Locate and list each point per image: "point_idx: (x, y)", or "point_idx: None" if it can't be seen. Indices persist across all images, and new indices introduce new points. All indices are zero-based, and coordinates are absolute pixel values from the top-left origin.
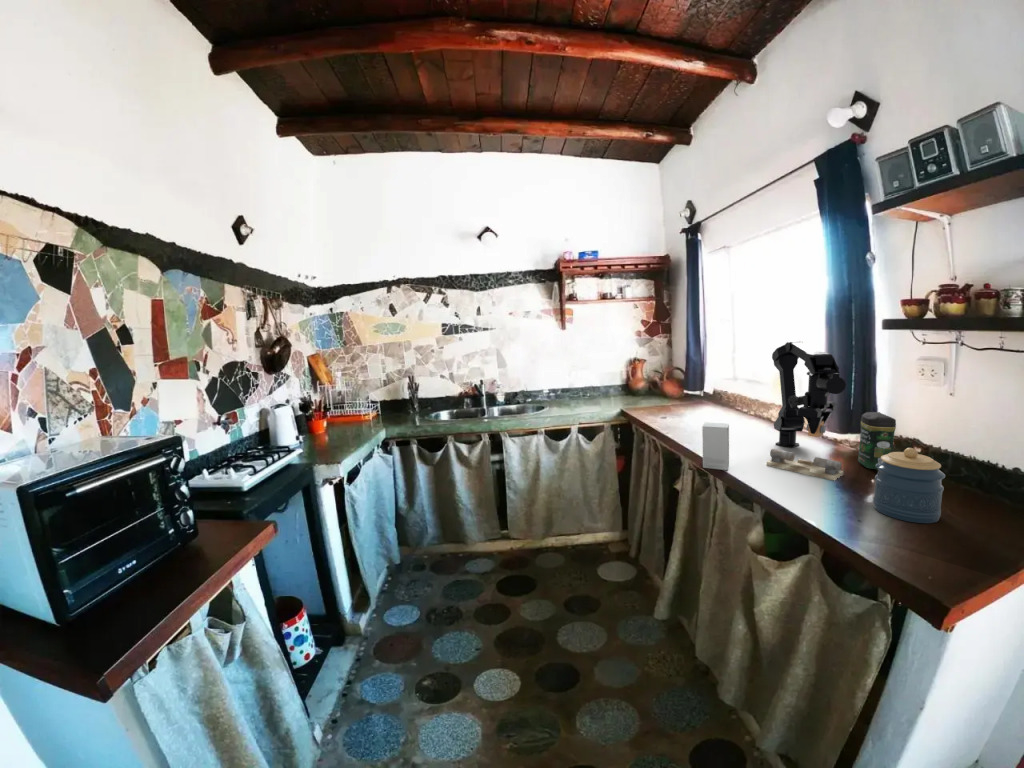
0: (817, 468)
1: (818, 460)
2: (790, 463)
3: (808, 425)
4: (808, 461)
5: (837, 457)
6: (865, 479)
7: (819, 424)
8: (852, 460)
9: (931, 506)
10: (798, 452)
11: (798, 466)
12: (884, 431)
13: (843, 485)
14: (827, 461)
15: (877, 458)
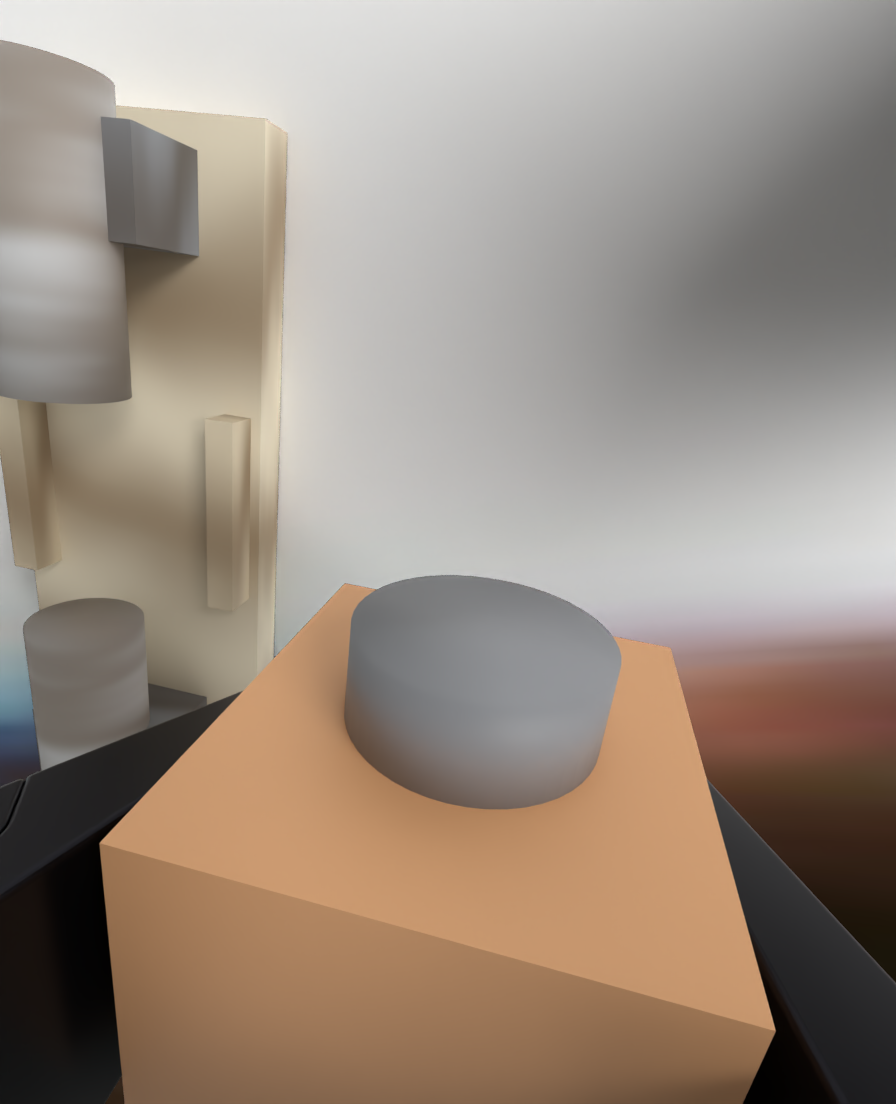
0: (166, 608)
1: (30, 669)
2: (130, 357)
3: (360, 699)
4: (219, 529)
5: (859, 711)
6: None
7: (108, 1079)
8: (804, 829)
9: None
10: (880, 271)
11: (8, 471)
12: None
13: (37, 763)
14: (38, 745)
15: None
